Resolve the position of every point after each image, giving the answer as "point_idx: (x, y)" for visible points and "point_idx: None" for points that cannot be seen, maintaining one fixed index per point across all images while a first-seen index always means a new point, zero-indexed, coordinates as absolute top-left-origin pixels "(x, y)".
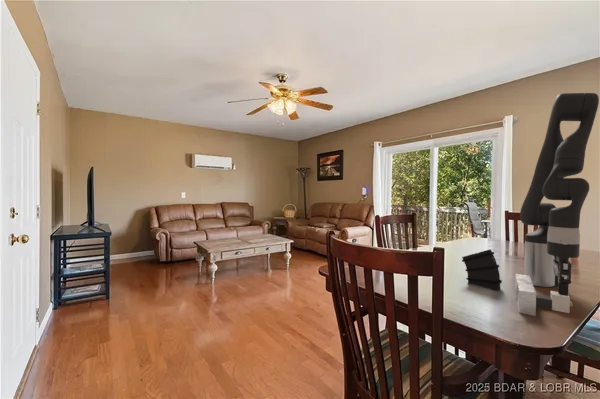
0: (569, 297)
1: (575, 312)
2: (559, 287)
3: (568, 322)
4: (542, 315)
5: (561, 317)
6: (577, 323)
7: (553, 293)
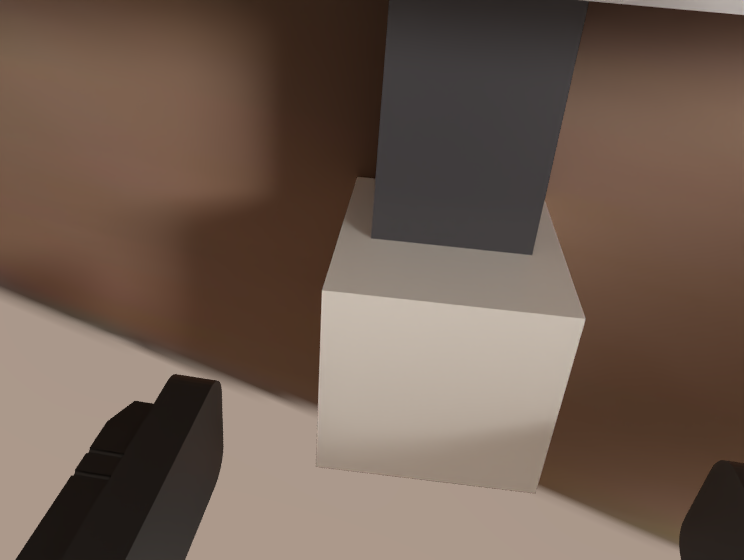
0: (318, 461)
1: None
2: (120, 481)
3: (9, 232)
4: (31, 4)
5: (128, 208)
6: (48, 301)
7: (409, 321)
